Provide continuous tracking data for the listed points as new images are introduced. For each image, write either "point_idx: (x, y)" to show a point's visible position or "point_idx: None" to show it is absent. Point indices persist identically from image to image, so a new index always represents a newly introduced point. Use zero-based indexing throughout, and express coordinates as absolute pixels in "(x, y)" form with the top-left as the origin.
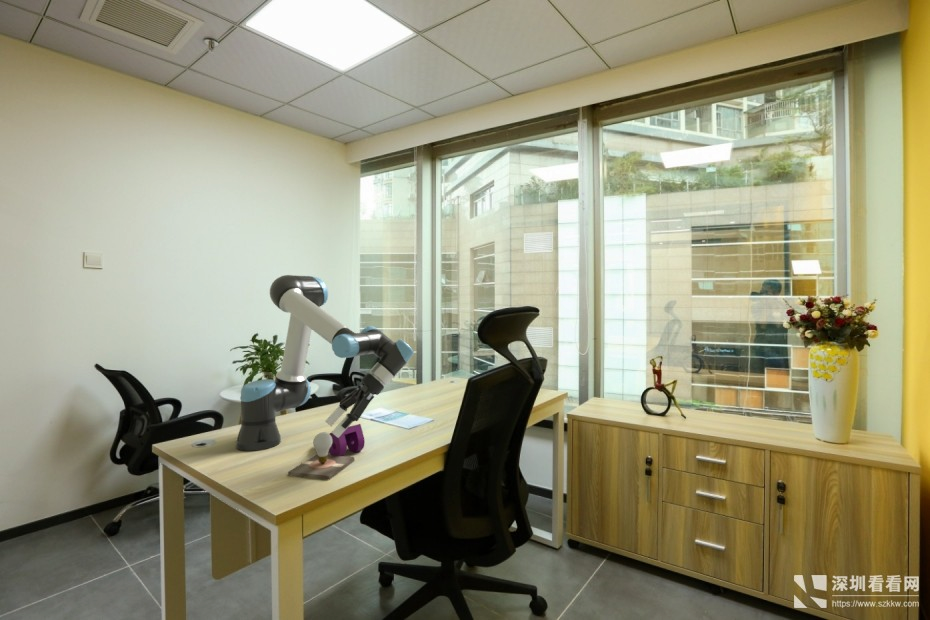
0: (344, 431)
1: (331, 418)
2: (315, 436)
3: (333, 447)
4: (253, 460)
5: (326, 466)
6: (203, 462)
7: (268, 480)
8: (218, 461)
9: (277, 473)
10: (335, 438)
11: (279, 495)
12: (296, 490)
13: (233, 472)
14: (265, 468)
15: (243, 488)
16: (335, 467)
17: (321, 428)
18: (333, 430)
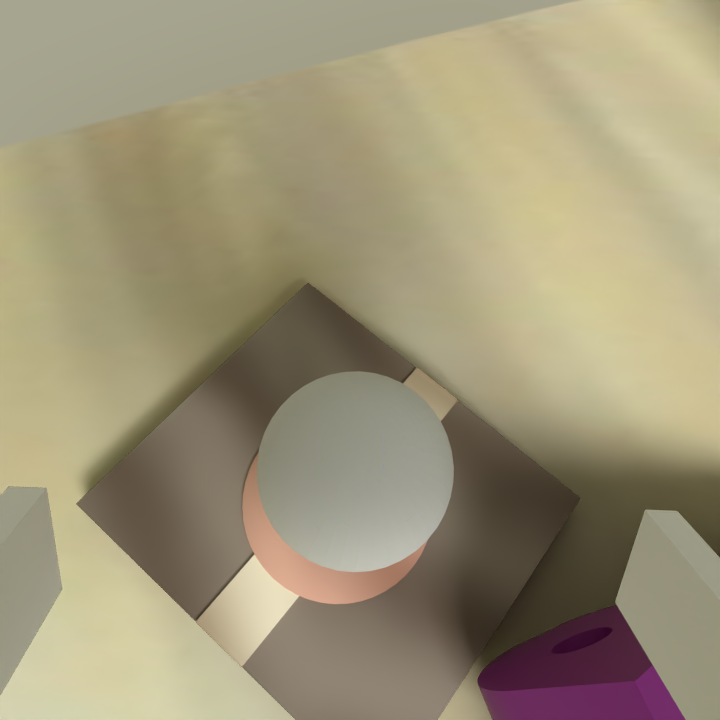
0: None
1: (686, 609)
2: (373, 378)
3: (597, 638)
4: (638, 176)
5: (266, 516)
6: (674, 15)
7: (294, 205)
8: (670, 58)
9: (377, 253)
10: (596, 659)
11: (46, 225)
12: (53, 304)
13: (489, 94)
14: (486, 211)
15: (250, 109)
16: (218, 581)
17: None
18: (2, 510)
